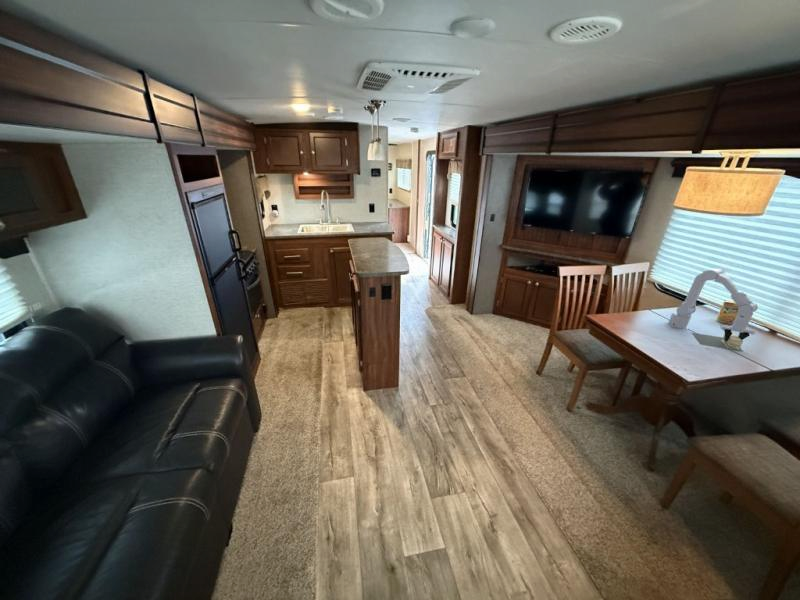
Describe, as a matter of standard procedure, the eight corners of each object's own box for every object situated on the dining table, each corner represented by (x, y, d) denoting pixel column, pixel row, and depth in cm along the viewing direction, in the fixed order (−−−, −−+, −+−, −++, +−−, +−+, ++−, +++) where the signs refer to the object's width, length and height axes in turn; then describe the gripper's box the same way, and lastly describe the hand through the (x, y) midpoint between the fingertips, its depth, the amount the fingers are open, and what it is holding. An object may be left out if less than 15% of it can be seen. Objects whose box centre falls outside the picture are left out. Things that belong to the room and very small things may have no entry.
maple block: (722, 338, 192) (725, 332, 190) (733, 340, 190) (736, 334, 188) (728, 345, 184) (731, 339, 183) (739, 347, 182) (743, 341, 181)
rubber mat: (699, 344, 189) (700, 344, 189) (691, 332, 202) (691, 332, 202) (743, 352, 181) (743, 351, 181) (731, 339, 194) (731, 338, 194)
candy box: (716, 321, 216) (725, 301, 210) (715, 319, 219) (724, 299, 213) (733, 325, 210) (743, 305, 204) (733, 322, 213) (742, 303, 207)
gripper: (727, 322, 181) (718, 341, 186) (761, 327, 175) (751, 347, 180) (722, 317, 187) (714, 336, 192) (755, 322, 181) (745, 341, 186)
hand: (731, 341), depth 187 cm, fingers closed on maple block, 5 cm apart
